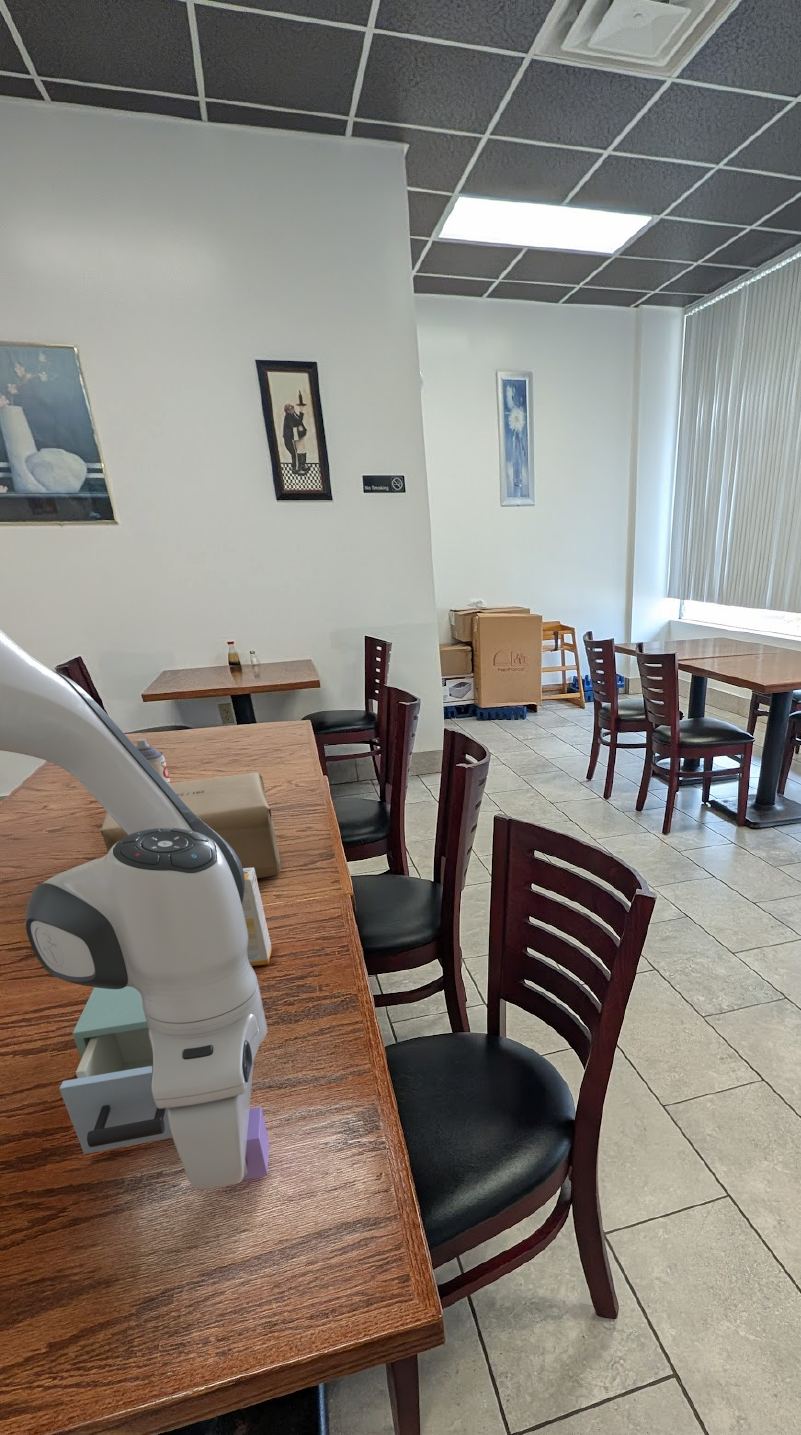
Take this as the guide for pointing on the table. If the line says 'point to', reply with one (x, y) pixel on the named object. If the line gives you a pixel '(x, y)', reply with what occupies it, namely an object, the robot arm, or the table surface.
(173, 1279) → the table surface
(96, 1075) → the drawer
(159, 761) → the aerosol can
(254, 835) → the paper package
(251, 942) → the supplement box
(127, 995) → the mint green drawer box
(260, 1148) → the purple cube
